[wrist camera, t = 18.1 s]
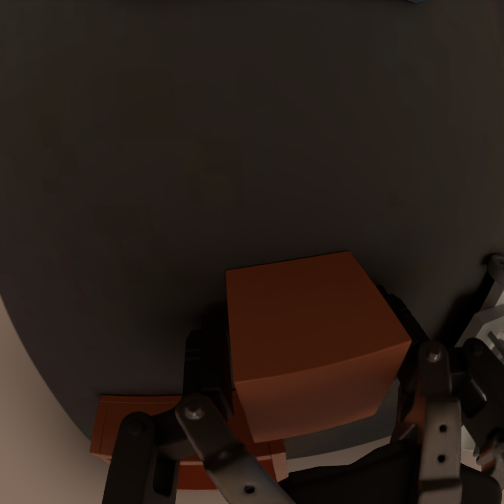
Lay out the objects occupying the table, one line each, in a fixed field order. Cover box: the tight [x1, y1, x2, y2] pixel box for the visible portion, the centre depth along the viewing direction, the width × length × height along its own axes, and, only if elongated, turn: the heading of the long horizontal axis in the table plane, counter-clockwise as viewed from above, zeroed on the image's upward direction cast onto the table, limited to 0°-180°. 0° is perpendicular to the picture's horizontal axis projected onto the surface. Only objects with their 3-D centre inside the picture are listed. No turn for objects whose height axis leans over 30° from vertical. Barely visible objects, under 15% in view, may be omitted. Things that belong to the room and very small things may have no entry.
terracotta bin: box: [90, 390, 287, 491], centre depth 16 cm, size 12×12×5 cm
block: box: [226, 251, 412, 443], centre depth 10 cm, size 5×5×5 cm
